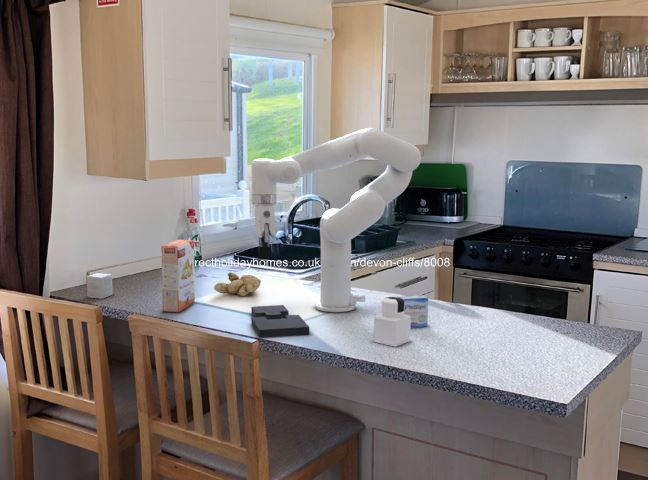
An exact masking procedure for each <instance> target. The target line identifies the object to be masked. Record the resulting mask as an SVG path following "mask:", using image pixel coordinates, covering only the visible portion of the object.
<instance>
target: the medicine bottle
mask: <svg viewBox="0 0 648 480" xmlns="http://www.w3.org/2000/svg"><path fill="white" fill-rule="evenodd" d="M399 297H400V296H387V297H384V298H382V299H381V308H380V309H381V314H379V315H378V314H377V315H376V316H374V322H373V323H374V326H373V331H374V332H373V342H374V343H378V344H381V345H387V346H391V347H395V348H397V347H399V346H402V345H404V344H406V343H408V342H411V328H410V324H411V316H409V315H404V300H403V299H401V298H399Z"/></svg>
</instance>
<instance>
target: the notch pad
mask: <svg viewBox="0 0 648 480" xmlns="http://www.w3.org/2000/svg"><path fill="white" fill-rule="evenodd" d="M251 326H252V328H253V329H254V331H255V333H256V334H257V336H258V338H260V339H261V338H272V337H273V338H276V337H290V336H294V337H295V336H308V335H310V326H309V325H308V323H307V322H306V321H305V320H304V319H303V318H302V317H301V316H300V314H289V315H285V318H282V319H269V320H267V319H266V317H254V316H252V317H251Z"/></svg>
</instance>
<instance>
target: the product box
mask: <svg viewBox="0 0 648 480" xmlns="http://www.w3.org/2000/svg"><path fill="white" fill-rule="evenodd" d="M86 294H87V298H90V299H99V300H100V299H102V300H103V299H105V298H109V297H111V296H113V295H114V291H113V275H112V273H100V272H96V273H93V274H90V275H86Z"/></svg>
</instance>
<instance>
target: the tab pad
mask: <svg viewBox="0 0 648 480" xmlns="http://www.w3.org/2000/svg"><path fill="white" fill-rule="evenodd" d="M251 315H252V317H266V319H267V320H269V319H285V315H290V314H289V310H288V308H287V307H286V306H285V305H284V304H276V305H275V304H274V305H258V306H251Z"/></svg>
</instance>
